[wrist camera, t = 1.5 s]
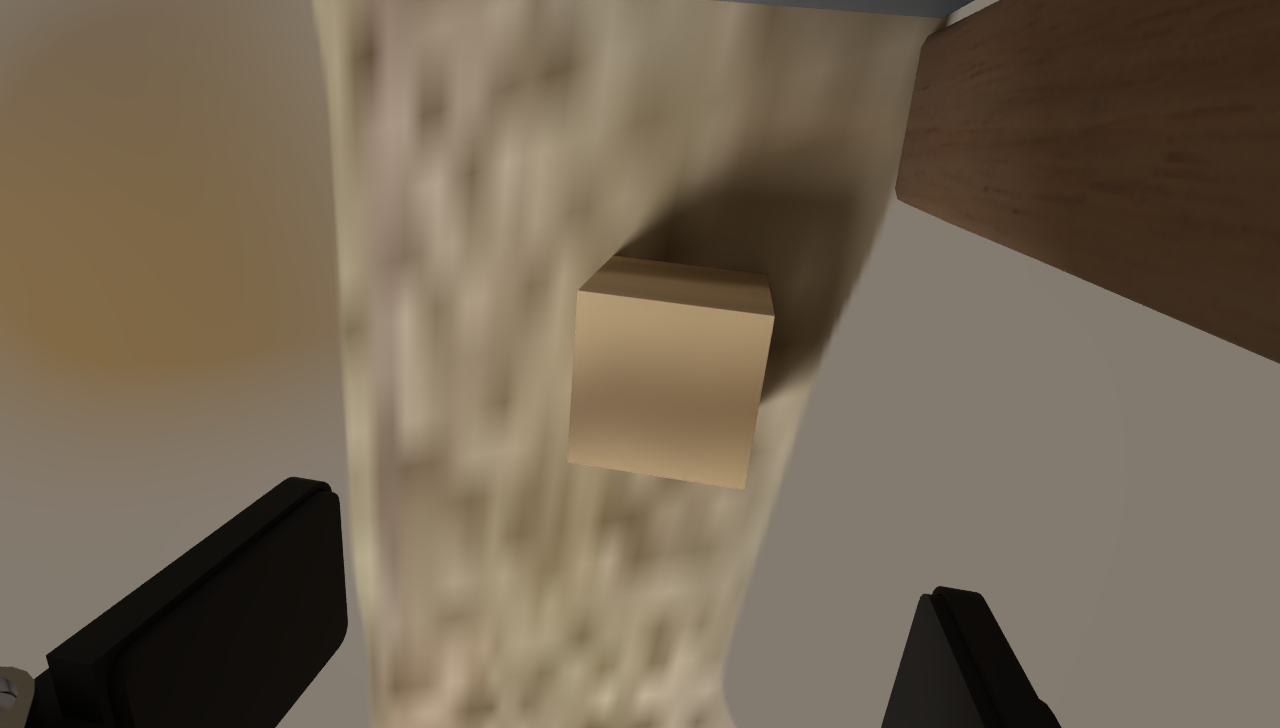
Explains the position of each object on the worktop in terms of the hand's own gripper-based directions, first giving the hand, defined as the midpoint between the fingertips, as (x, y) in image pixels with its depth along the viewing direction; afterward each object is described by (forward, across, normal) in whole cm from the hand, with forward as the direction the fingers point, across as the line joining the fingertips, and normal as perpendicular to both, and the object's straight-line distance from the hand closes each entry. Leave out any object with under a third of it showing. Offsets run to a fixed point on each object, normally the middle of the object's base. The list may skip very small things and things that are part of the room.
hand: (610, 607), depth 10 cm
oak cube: (+12, 0, -1) cm, 13 cm away
